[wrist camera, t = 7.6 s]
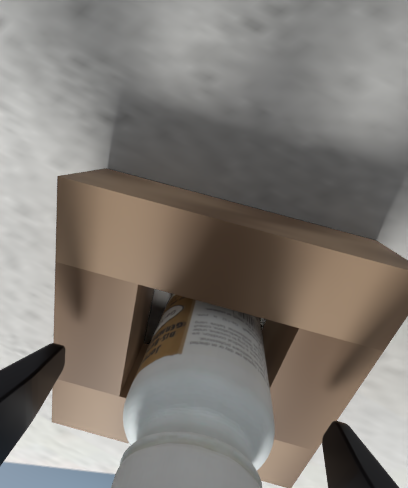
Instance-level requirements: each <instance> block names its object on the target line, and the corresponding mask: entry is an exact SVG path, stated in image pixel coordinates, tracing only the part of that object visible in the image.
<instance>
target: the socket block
mask: <svg viewBox="0 0 408 488" xmlns="http://www.w3.org/2000/svg"><path fill="white" fill-rule="evenodd" d="M154 289H157V290H161V291H165V292H168V293H172V294H176V295H179V296H183V297H187V298H190V299H194V300H198V301H201V302H205V303H209V304H212V305H216V306H220V307H223V308H227V309H231V310H234V311H238V312H242V313H245V314H249V315H253V316H256V317H260V318H264V319H267V320H266V322H265V324H264V327H263V329H262V336H263V344H264V352H265V360H266V367H267V374H268V381H269V387H270V394H271V400H272V408H273V416H274V426H275V435H274V441H273V446H272V449H271V451H270V454H269V456H268V458H267V459H266V461H265V462H264V464H263V465H262V466H261V467H260V468H259V469H258V470H257V472H258V474H259V476H260V479H261V481H265V482H268V483H272V484H275V485H279V486H282V487H286V488H291V487H292V486H293V484H294V483H295V481H296V480H297V478H298V477H299V476H300V474H301V473H302V471H303V470H304V468H305V467H306V465H307V464H308V462H309V461H310V459H311V458H312V456H313V455H314V453H315V452H316V450H317V449H318V447H319V446H320V445H321V443H322V438H323V435H324V433H325V432H326V430H327V429H328V427H329V426H330V424H331V423H332V422H333V421H337V419H338V418H339V416H340V415H341V413H342V412H343V411H344V409H345V408H346V406H347V405H348V403H349V402H350V400H351V399H352V397H353V396H354V394H355V393H356V391H357V390H358V388H359V387H360V385H361V384H362V382H363V381H364V380H365V378H366V377H367V375H368V374H369V372H370V371H371V369H372V368H373V366H374V365H375V363H376V362H377V360H378V359H379V357H380V356H381V354H382V353H383V351H384V350H385V349H386V347H387V346H388V344H389V343H390V341H391V340H392V338H393V337H394V335H395V334H396V332H397V331H398V329H399V328H400V326H401V325H402V323H403V322H404V320H405V319H406V317H407V316H408V260H406V259H405V258H403V257H401V256H400V255H398V254H397V253H395V252H394V251H392V250H391V249H389V248H387V247H386V246H384V245H383V244H381V243H380V242H378V241H376V240H372V239H369V238H365V237H361V236H357V235H354V234H350V233H346V232H342V231H339V230H335V229H331V228H327V227H324V226H320V225H316V224H312V223H309V222H305V221H301V220H298V219H294V218H290V217H286V216H283V215H279V214H275V213H271V212H268V211H264V210H260V209H256V208H253V207H249V206H245V205H241V204H238V203H234V202H230V201H227V200H223V199H219V198H215V197H212V196H208V195H204V194H200V193H197V192H193V191H189V190H185V189H182V188H178V187H174V186H170V185H167V184H163V183H159V182H155V181H152V180H148V179H144V178H141V177H137V176H133V175H129V174H126V173H122V172H118V171H114V170H111V169H107V168H106V169H100V170H93V171H87V172H81V173H74V174H68V175H62V176H58V179H57V222H56V264H55V307H54V343H56V344H60V345H63V346H65V349H66V350H65V365H64V368H63V371H62V372H61V374H60V376H59V378H58V379H57V381H56V383H55V384H54V386H53V393H52V422H54V423H57V424H61V425H64V426H68V427H71V428H75V429H79V430H82V431H86V432H89V433H93V434H97V435H100V436H104V437H107V438H111V439H114V440H118V441H122V442H125V443H129V442H128V440H127V437H126V434H125V430H124V425H123V410H124V404H125V401H126V398H127V395H128V392H129V390H130V387H131V385H132V383H133V380H134V378H135V376H136V374H137V372H138V369H139V367H140V364H141V363H142V361H143V358H144V356H145V353H146V350H147V348H148V347H149V344H145V343H144V339H145V334H146V329H147V324H148V319H149V314H150V309H151V304H152V299H153V294H154Z"/></svg>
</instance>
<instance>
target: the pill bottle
mask: <svg viewBox="0 0 408 488" xmlns="http://www.w3.org/2000/svg"><path fill="white" fill-rule="evenodd" d="M123 425H124V430H125V434H126V437H127V440H128V442H129V444H130V447H129V448H128V449H127V450H126V451H125V453H124V454H123V457H122V459H121V462H120V467H119V468H118V470H117V472H116V474H115V478H114V481H113V483H112V487H111V488H262V482H261V479H260V476H259V474H258V472H257V470H258V469H259V468H260V467H261V466H262V465H263V464H264V462H265V461H266V459H267V458H268V456H269V454H270V451H271V449H272V446H273V441H274V435H275V426H274V416H273V408H272V400H271V394H270V387H269V381H268V374H267V367H266V360H265V352H264V344H263V336H262V330H261V322H260V317H256V316H253V315H249V314H245V313H242V312H238V311H234V310H231V309H227V308H223V307H220V306H216V305H212V304H209V303H205V302H201V301H198V300H194V299H190V298H187V297H183V296H179V295H176V294H173V295H172V296H171V298H170V299H169V301H168V303H167V305H166V308H165V310H164V312H163V314H162V317H161V320H160V322H159V324H158V327H157V329H156V330H155V333H154V335H153V338H152V340H151V342H150V344H149V347H148V348H147V350H146V353H145V356H144V358H143V361H142V363H141V364H140V367H139V369H138V372H137V374H136V376H135V378H134V380H133V383H132V385H131V387H130V390H129V392H128V395H127V398H126V401H125V404H124V410H123Z"/></svg>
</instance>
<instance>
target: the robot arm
mask: <svg viewBox="0 0 408 488" xmlns="http://www.w3.org/2000/svg"><path fill="white" fill-rule="evenodd" d="M65 350H66V349H65V346H63V345H60V344H56V343H52V344H49V345H47V346H45V347H43V348H41V349H40V350H38V351H36V352H34V353H32V354H30V355H28V356H26V357H24V358H22V359H21V360H19V361H17V362H15V363H13V364H11V365H9V366H7V367H5V368H4V369H2V370H0V466H1V464H2V463H3V461H4V460H5V459H6V457H7V456H8V455H9V453H10V452H11V450H12V449H13V448H14V446H15V445H16V443H17V442H18V441H19V439H20V438H21V436H22V435H23V434H24V432H25V431H26V430H27V428H28V427H29V425H30V424H31V422H32V421H33V419H34V418H35V416H36V414H37V413H38V411H39V409H40V408H41V406H42V404H43V403H44V401H45V399H46V398H47V396H48V394H49V393H50V391H51V389H52V388H53V386H54V384H55V383H56V381H57V379H58V378H59V376H60V374H61V372H62V371H63V368H64V365H65ZM322 446H323V453H324V460H325V468H326V475H327V482H328V488H399V487H398V486H397V484H396V483H395V482H394V481H393V479H392V478H391V477H390V476H389V474H388V473H387V472H386V471H385V470H384V468H383V467H382V466H381V465H380V463H379V462H378V461H377V460H376V458H375V457H374V456H373V455H372V454H371V452H370V451H369V450H368V449H367V447H366V446H365V445H364V444H363V442H362V441H361V440H360V439H359V437H358V436H357V435H356V434H355V433H354V431H353V430H352V429H351V428H350V427H349V426H348V425H347V424H345V423H342V422H339V421H333V422H332V423H331V424H330V426H329V427H328V429H327V430H326V432H325V433H324V435H323V438H322Z"/></svg>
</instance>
